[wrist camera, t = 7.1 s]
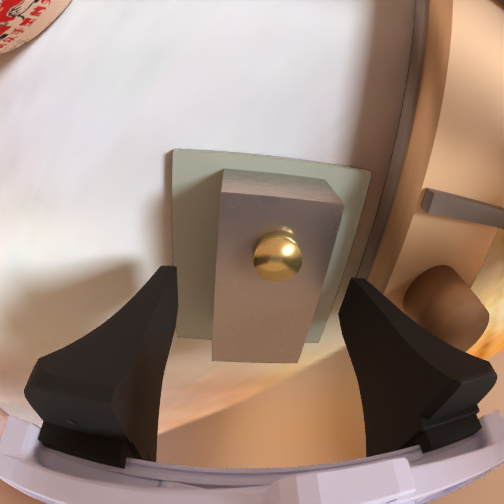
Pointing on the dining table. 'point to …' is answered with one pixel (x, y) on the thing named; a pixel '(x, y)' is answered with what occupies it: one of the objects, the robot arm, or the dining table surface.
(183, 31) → the dining table surface
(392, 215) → the plane body
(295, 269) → the lever cap
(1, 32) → the teacup with lid
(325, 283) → the felt pad
